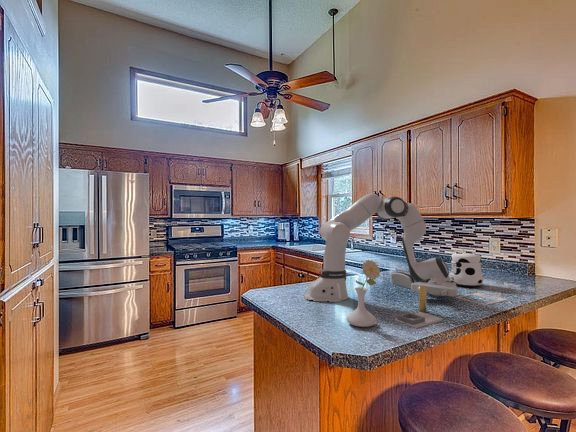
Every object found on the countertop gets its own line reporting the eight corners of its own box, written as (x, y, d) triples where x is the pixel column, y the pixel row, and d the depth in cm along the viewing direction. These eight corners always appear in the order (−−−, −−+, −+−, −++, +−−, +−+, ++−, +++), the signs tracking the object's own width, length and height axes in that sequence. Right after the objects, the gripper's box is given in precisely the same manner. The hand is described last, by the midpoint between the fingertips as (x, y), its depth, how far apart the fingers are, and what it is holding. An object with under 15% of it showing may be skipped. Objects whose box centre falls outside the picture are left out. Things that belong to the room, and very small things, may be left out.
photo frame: (507, 299, 151) (484, 304, 143) (507, 301, 151) (484, 306, 143) (477, 292, 164) (455, 296, 156) (477, 294, 164) (455, 298, 156)
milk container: (487, 285, 183) (487, 255, 183) (476, 290, 172) (476, 257, 172) (456, 280, 196) (456, 252, 196) (444, 285, 185) (444, 255, 185)
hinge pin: (420, 312, 133) (420, 287, 133) (417, 310, 136) (417, 285, 136) (428, 312, 133) (428, 287, 133) (424, 310, 136) (424, 285, 136)
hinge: (420, 288, 176) (415, 272, 175) (414, 292, 174) (409, 276, 173) (398, 283, 191) (394, 268, 190) (393, 286, 190) (388, 271, 188)
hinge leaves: (416, 328, 115) (415, 322, 115) (394, 320, 123) (394, 314, 123) (442, 320, 123) (442, 314, 123) (420, 313, 132) (420, 308, 132)
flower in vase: (350, 330, 113) (350, 262, 113) (343, 319, 125) (342, 258, 125) (385, 329, 114) (384, 261, 114) (375, 318, 125) (374, 257, 125)
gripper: (415, 277, 161) (407, 282, 150) (459, 283, 149) (453, 288, 138) (415, 290, 161) (407, 295, 150) (459, 296, 149) (454, 302, 138)
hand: (429, 292), depth 144 cm, fingers open, 8 cm apart
